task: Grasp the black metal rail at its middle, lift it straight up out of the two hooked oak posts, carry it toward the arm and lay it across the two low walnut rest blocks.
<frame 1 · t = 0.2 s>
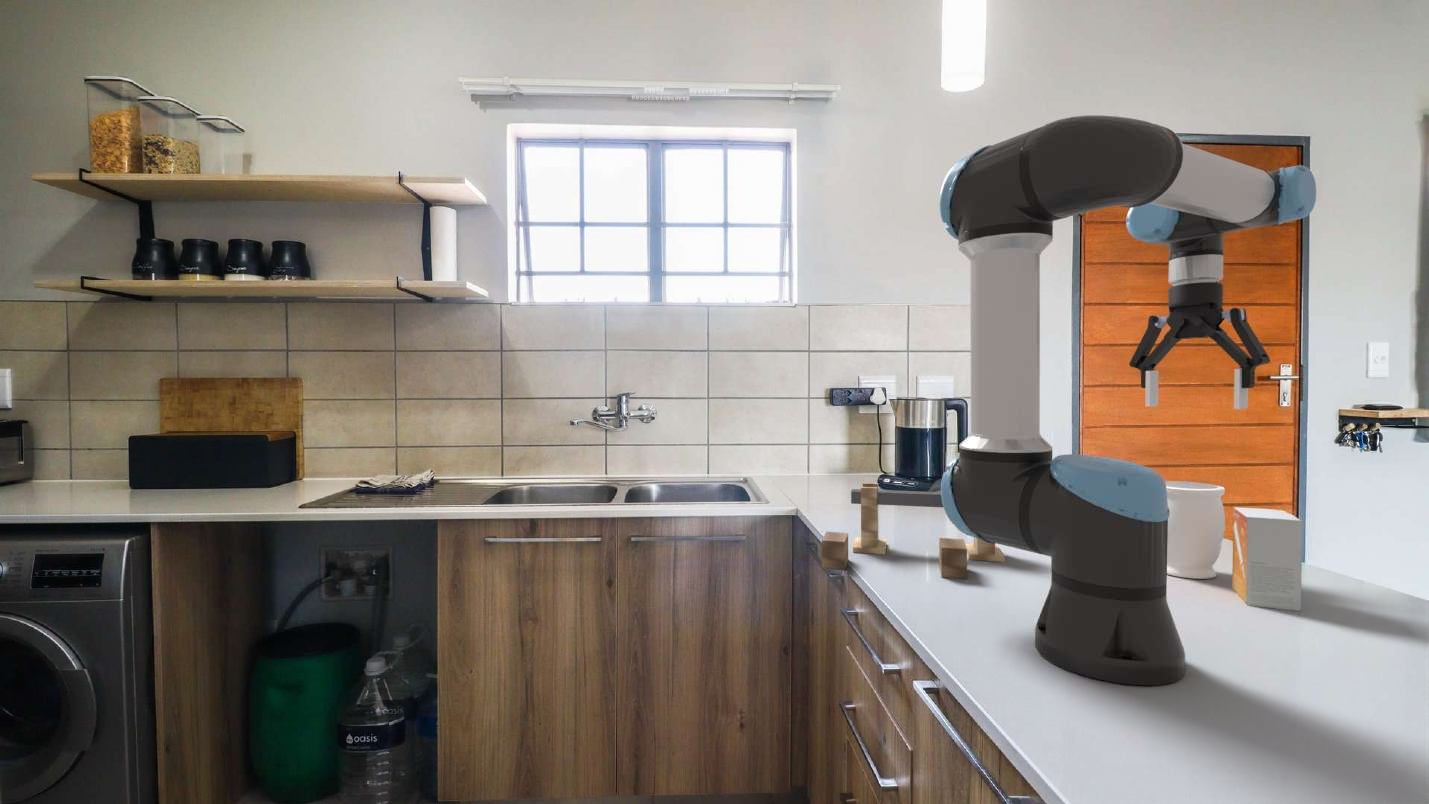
hand: (1193, 407, 111), 28 cm above the countertop, fingers open, 13 cm apart
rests: (892, 567, 114), on the countertop
small box: (1264, 601, 95), on the countertop
rail: (925, 505, 124), point 9 cm above the countertop, touching hook stand
hook stand: (925, 551, 124), on the countertop
jar: (1184, 573, 109), on the countertop
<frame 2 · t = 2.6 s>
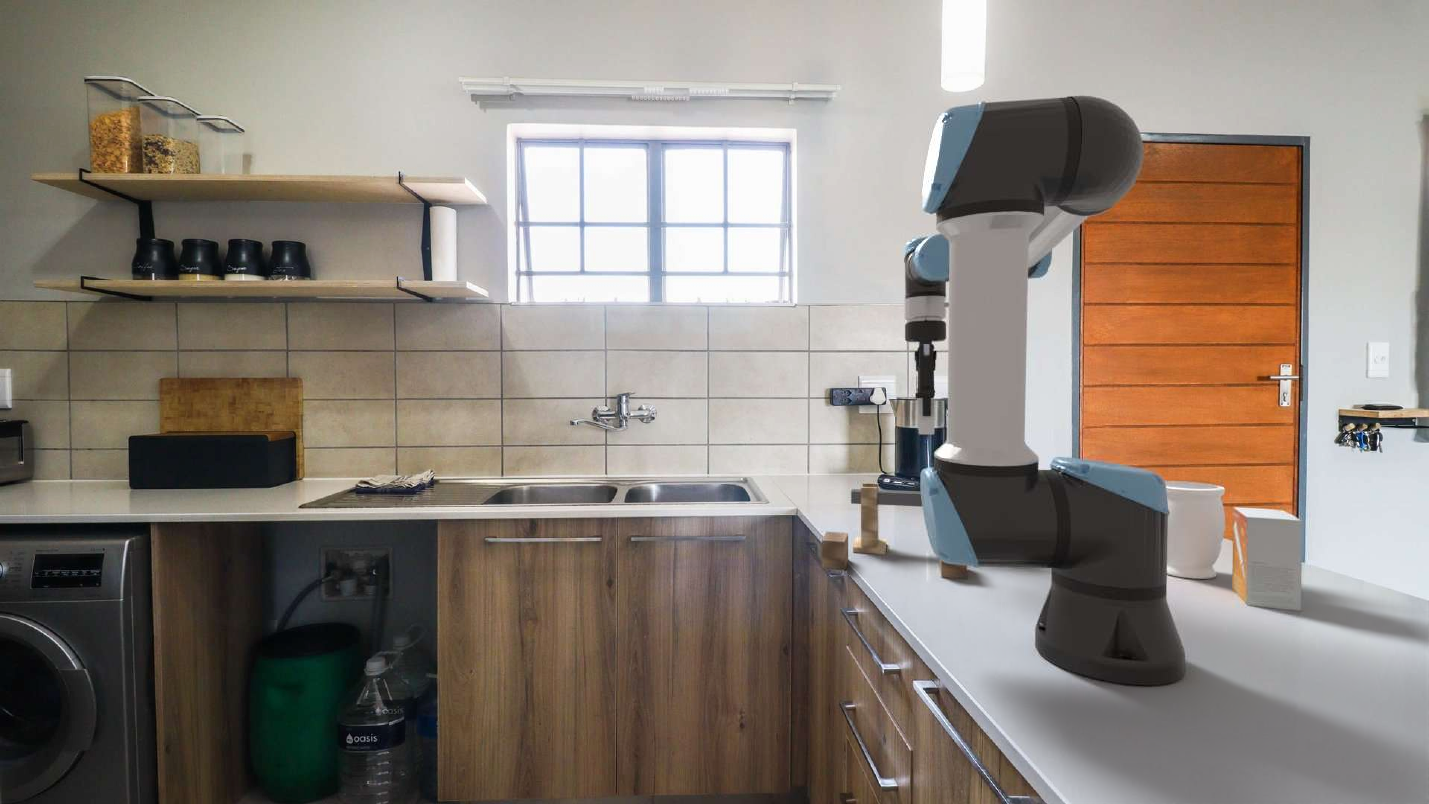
hand: (925, 431, 124), 23 cm above the countertop, fingers open, 13 cm apart
nothing on the countertop moved.
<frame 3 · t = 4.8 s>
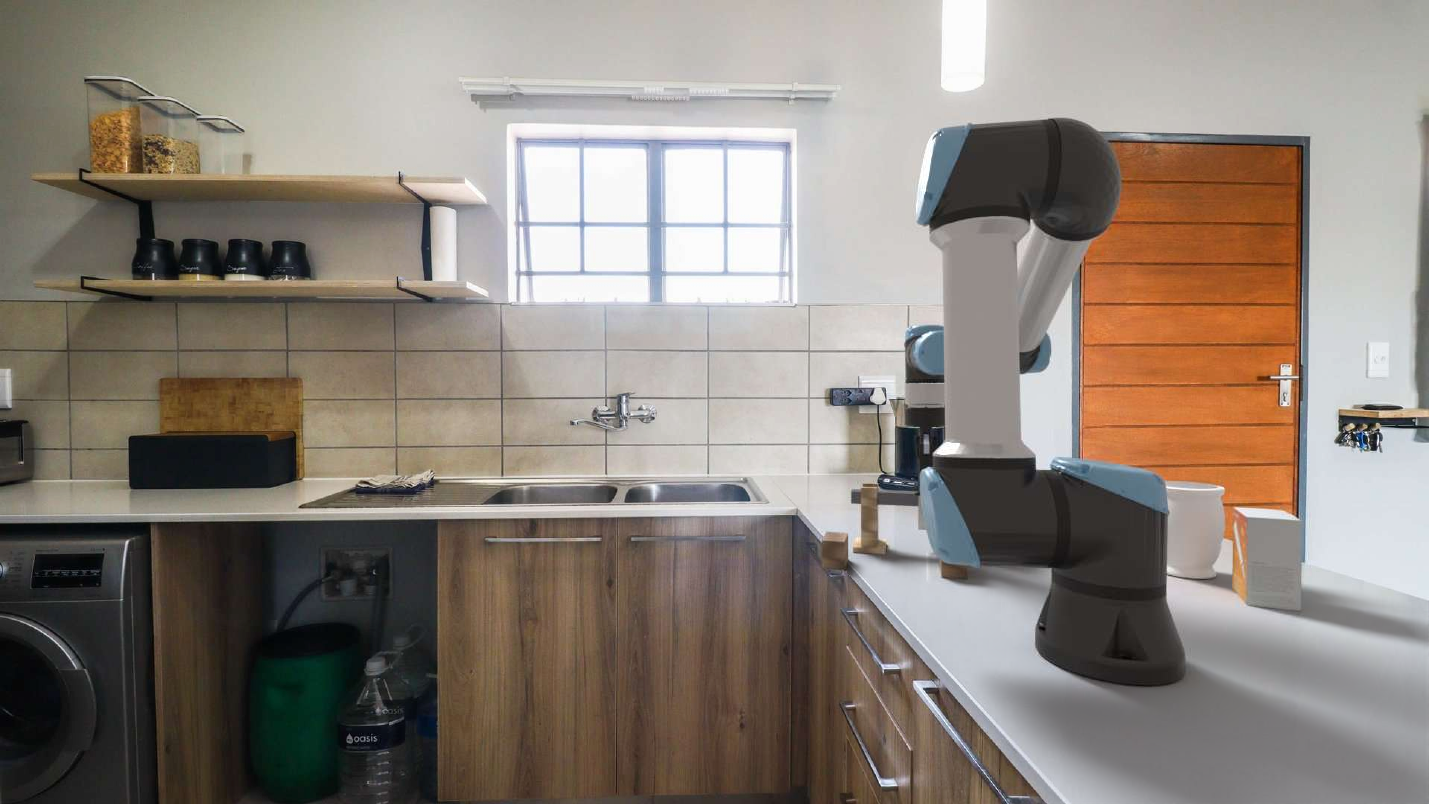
hand: (925, 527, 124), 5 cm above the countertop, fingers closed on rail, 3 cm apart
rail: (925, 505, 124), point 9 cm above the countertop, touching gripper, hook stand
everything else where it was.
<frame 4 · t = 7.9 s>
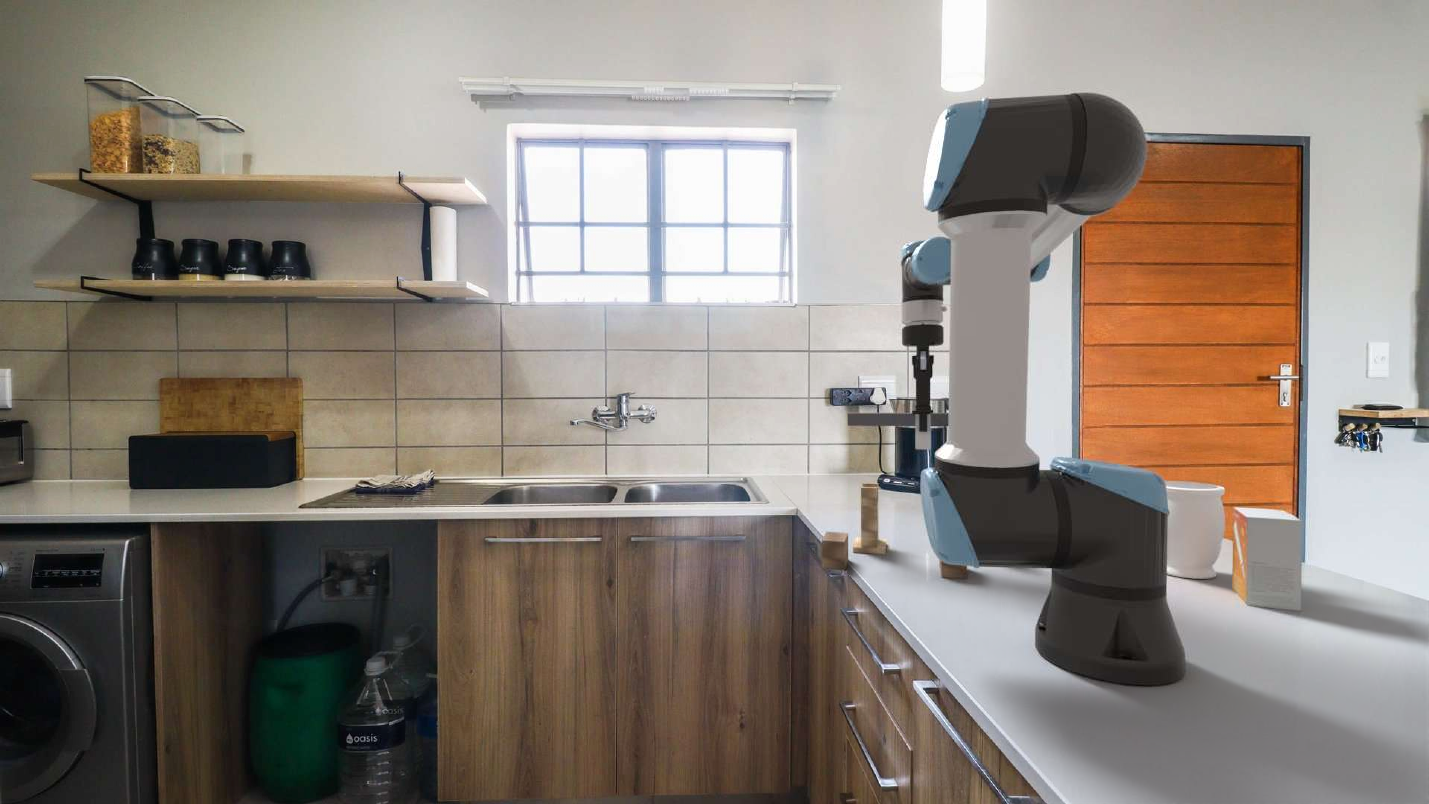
hand: (922, 448, 122), 20 cm above the countertop, fingers closed on rail, 3 cm apart
rail: (922, 425, 122), point 24 cm above the countertop, touching gripper
everything else where it was.
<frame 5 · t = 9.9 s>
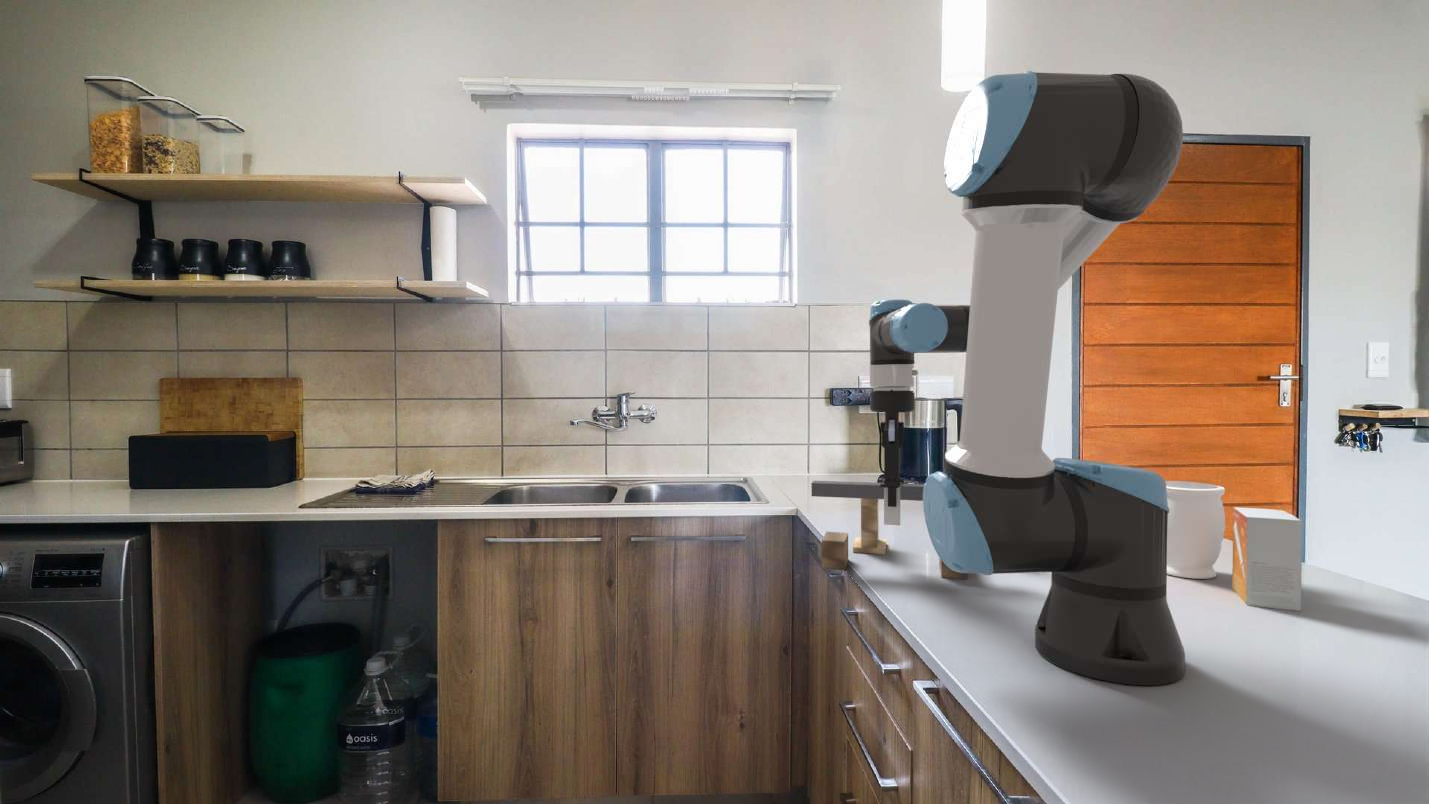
hand: (892, 522, 113), 8 cm above the countertop, fingers closed on rail, 3 cm apart
rail: (892, 498, 113), point 12 cm above the countertop, touching gripper
everything else where it was.
when the fingers open (2 cm above the countertop, at t = 11.3 s): rail drops 2 cm, resting on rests.
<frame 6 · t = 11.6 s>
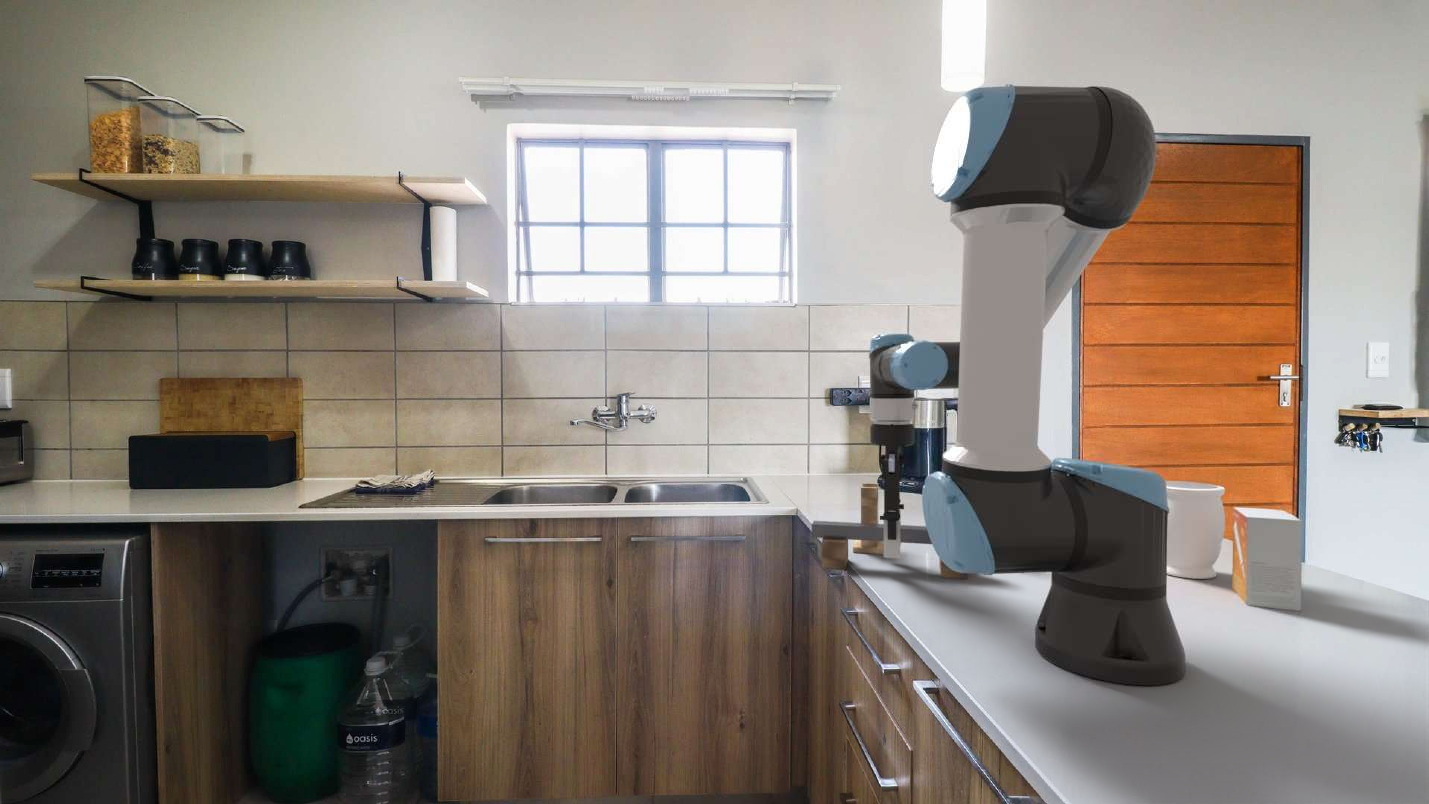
hand: (892, 551, 113), 3 cm above the countertop, fingers open, 8 cm apart
rail: (892, 539, 113), point 5 cm above the countertop, touching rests
everything else where it was.
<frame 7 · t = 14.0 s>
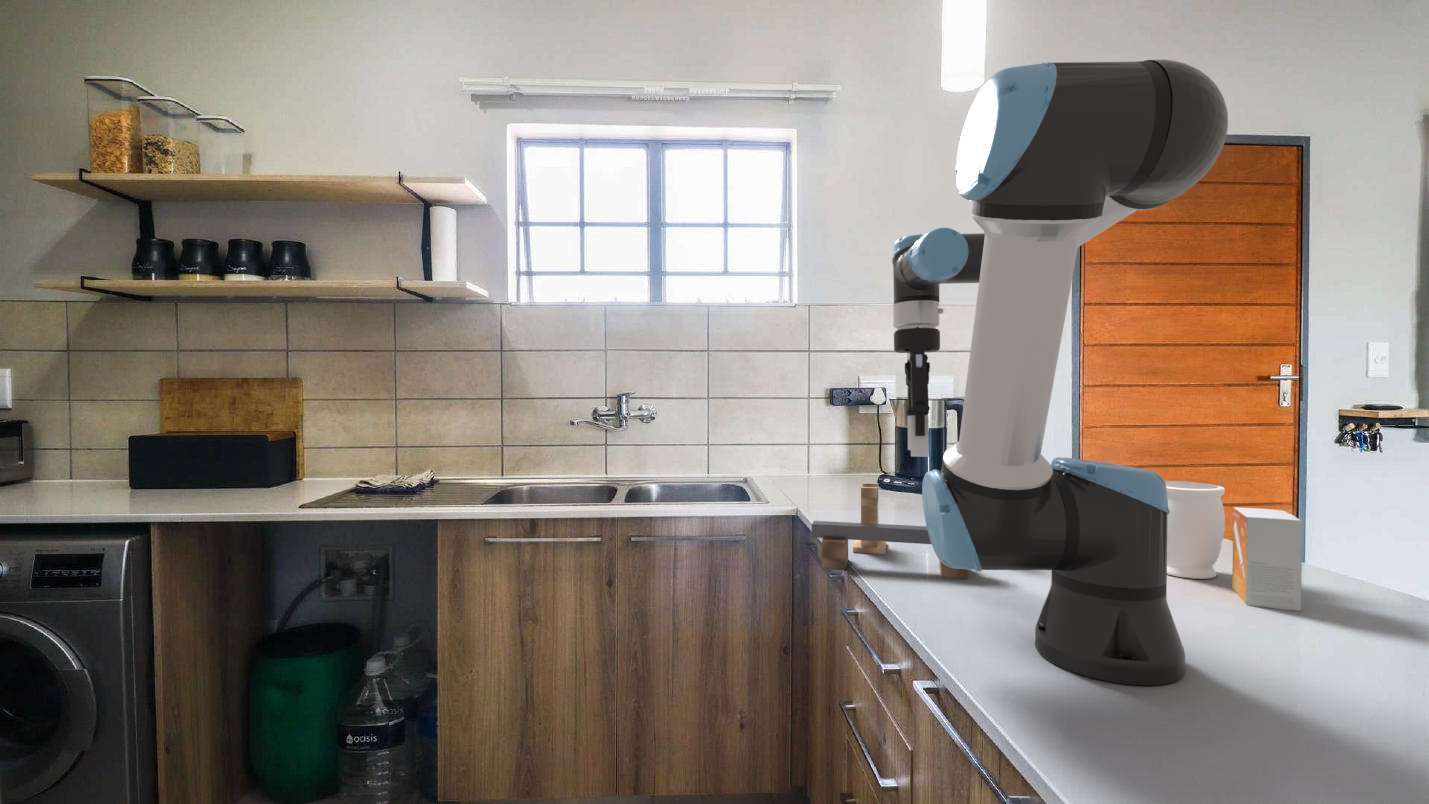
hand: (917, 453, 110), 21 cm above the countertop, fingers open, 13 cm apart
nothing on the countertop moved.
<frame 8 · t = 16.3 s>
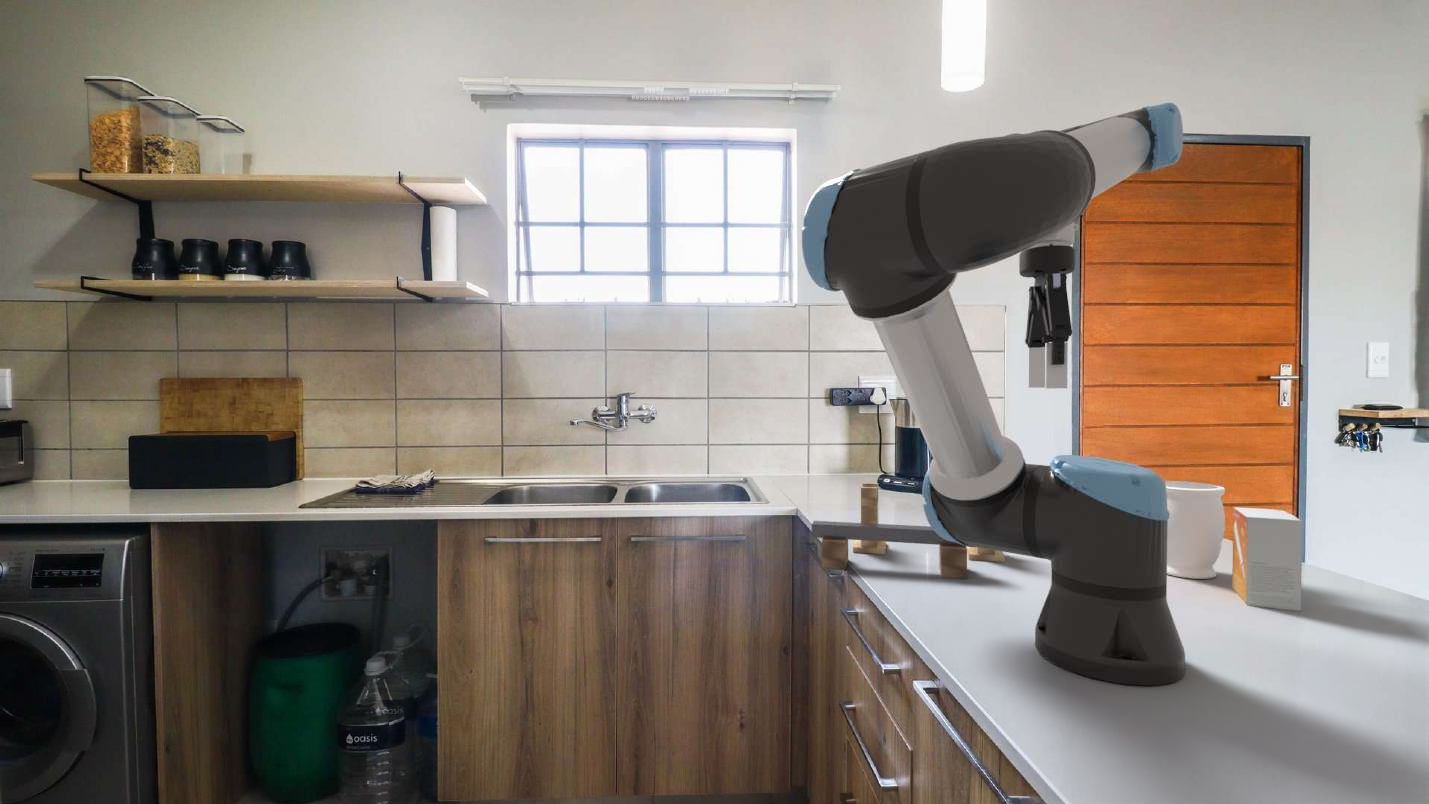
hand: (1046, 388, 98), 32 cm above the countertop, fingers open, 13 cm apart
nothing on the countertop moved.
at the end: rail 0.0 cm off-centre on the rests, point 5.0 cm above the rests's base; rail tilted 0°; the gripper is holding nothing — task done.
